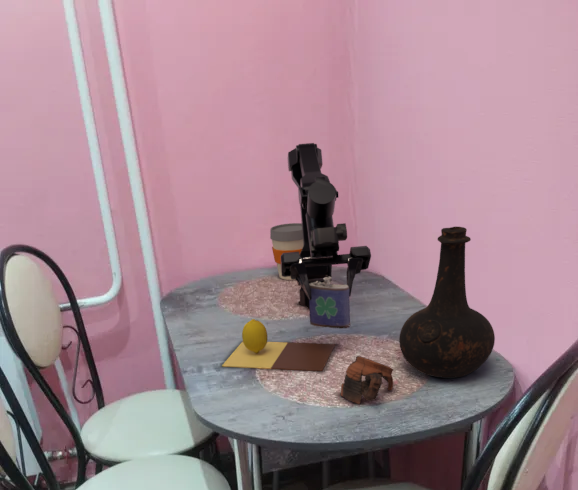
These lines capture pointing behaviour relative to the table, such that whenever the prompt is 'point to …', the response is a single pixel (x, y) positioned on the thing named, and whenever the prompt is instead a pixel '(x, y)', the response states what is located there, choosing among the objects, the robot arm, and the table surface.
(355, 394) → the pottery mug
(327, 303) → the flask
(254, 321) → the lemon
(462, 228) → the glass bottle
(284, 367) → the board
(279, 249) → the reusable coffee cup
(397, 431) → the table surface
